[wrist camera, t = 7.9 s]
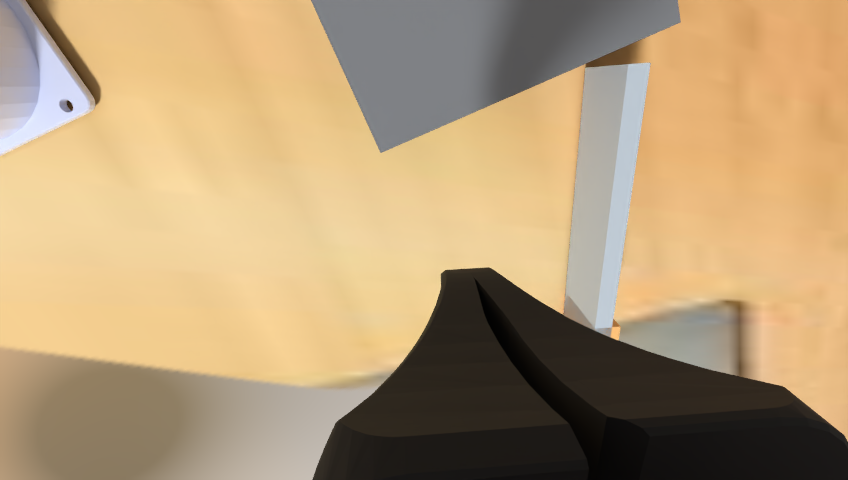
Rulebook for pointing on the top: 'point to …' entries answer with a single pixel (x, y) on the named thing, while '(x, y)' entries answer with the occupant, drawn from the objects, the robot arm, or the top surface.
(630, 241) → the top surface
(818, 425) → the robot arm
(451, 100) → the grey flat block
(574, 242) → the side door
